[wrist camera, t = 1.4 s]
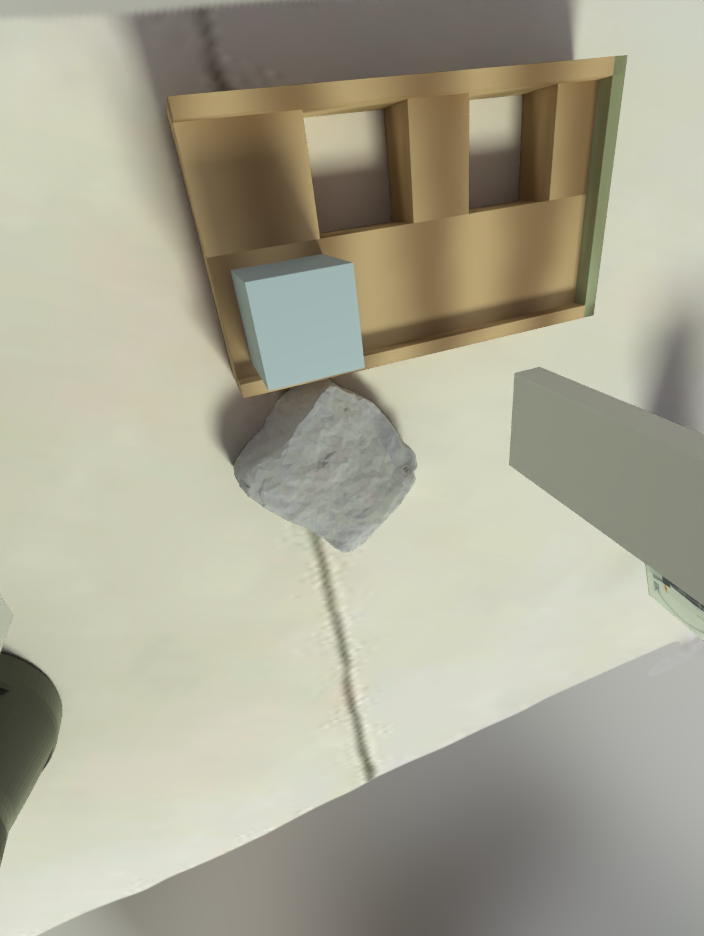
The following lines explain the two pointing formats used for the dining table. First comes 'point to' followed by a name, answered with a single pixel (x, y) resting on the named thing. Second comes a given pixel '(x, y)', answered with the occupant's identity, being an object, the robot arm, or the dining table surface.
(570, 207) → the trap box
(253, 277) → the block
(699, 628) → the skincare box
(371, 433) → the stone block
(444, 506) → the dining table surface
